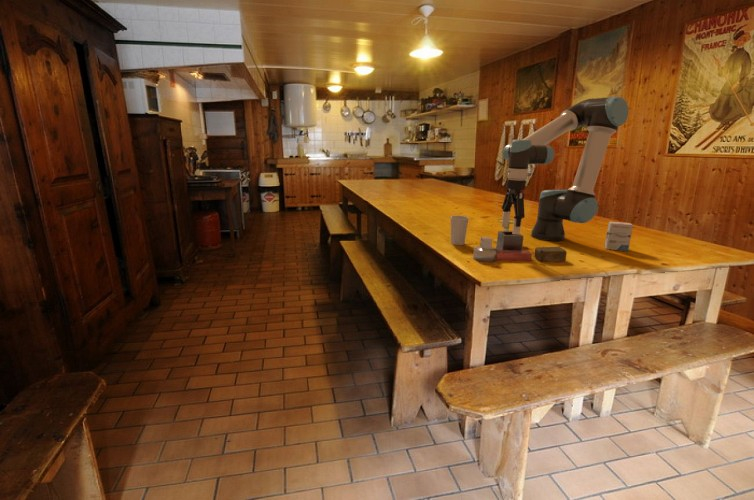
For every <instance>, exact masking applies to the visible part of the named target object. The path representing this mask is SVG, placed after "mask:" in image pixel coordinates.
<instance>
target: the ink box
mask: <svg viewBox="0 0 754 500" xmlns="http://www.w3.org/2000/svg"><path fill="white" fill-rule="evenodd" d="M633 227H634V225H633V224H632V223H630V222H618V221H608V224H607V231H606V237H605V240H604V241H605V242H604V248H605V249H606V250H609V249H611V250H612V251H620V250H622V252H628V251H629V248H630V242H631V240H632V239H631V237H632V232H633V229H634V228H633Z"/></svg>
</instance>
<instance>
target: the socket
mask: <svg viewBox="0 0 754 500" xmlns="http://www.w3.org/2000/svg"><path fill="white" fill-rule="evenodd" d="M512 232H513V230H509V231H503V230H500V231H499V230H498V232H497V242H496V249H497V250H523V244H524V243H523V242H524V235H523V234H521V233H520V235H519V234H512Z"/></svg>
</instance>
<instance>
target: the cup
mask: <svg viewBox="0 0 754 500" xmlns="http://www.w3.org/2000/svg"><path fill="white" fill-rule="evenodd" d="M469 219H470V218H469V216H464V215H451V216H450V244H451V245H454V246H463V245H465V244H466V243H465V242H466V237H467V232H468V231H467V230H468V225H469Z"/></svg>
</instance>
